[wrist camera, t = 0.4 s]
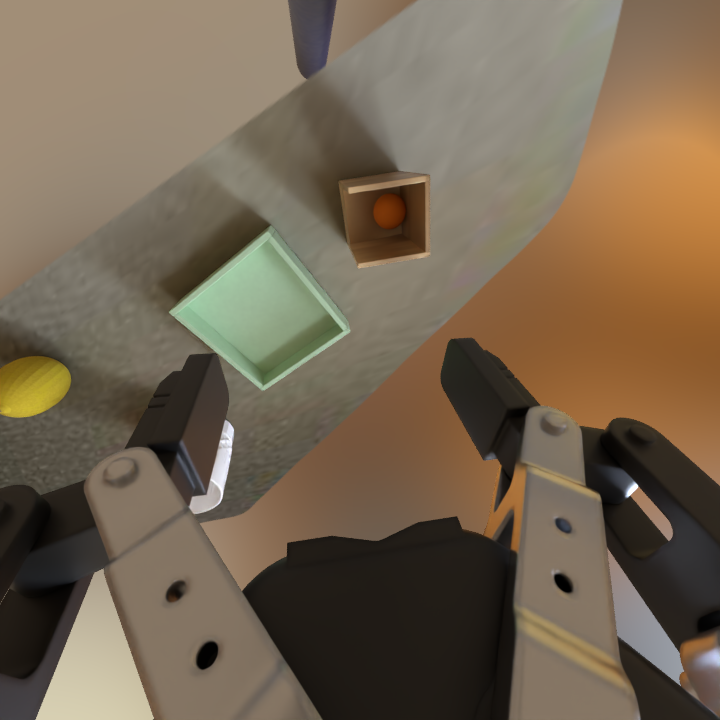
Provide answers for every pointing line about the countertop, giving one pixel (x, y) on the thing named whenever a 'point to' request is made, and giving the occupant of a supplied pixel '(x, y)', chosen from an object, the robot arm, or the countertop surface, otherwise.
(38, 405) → the lemon
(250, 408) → the countertop surface
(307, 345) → the tray
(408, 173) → the open wooden box
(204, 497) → the white cup
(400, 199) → the ball
